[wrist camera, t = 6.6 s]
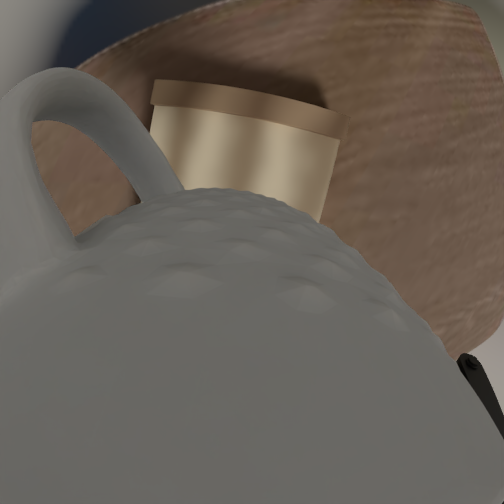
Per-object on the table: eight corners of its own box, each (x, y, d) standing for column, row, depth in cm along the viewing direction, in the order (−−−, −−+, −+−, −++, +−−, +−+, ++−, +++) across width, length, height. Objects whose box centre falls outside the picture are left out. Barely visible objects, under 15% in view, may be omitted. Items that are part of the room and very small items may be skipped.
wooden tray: (145, 265, 32) (133, 284, 28) (167, 87, 24) (155, 79, 20) (289, 289, 34) (296, 310, 30) (334, 119, 26) (350, 116, 22)
